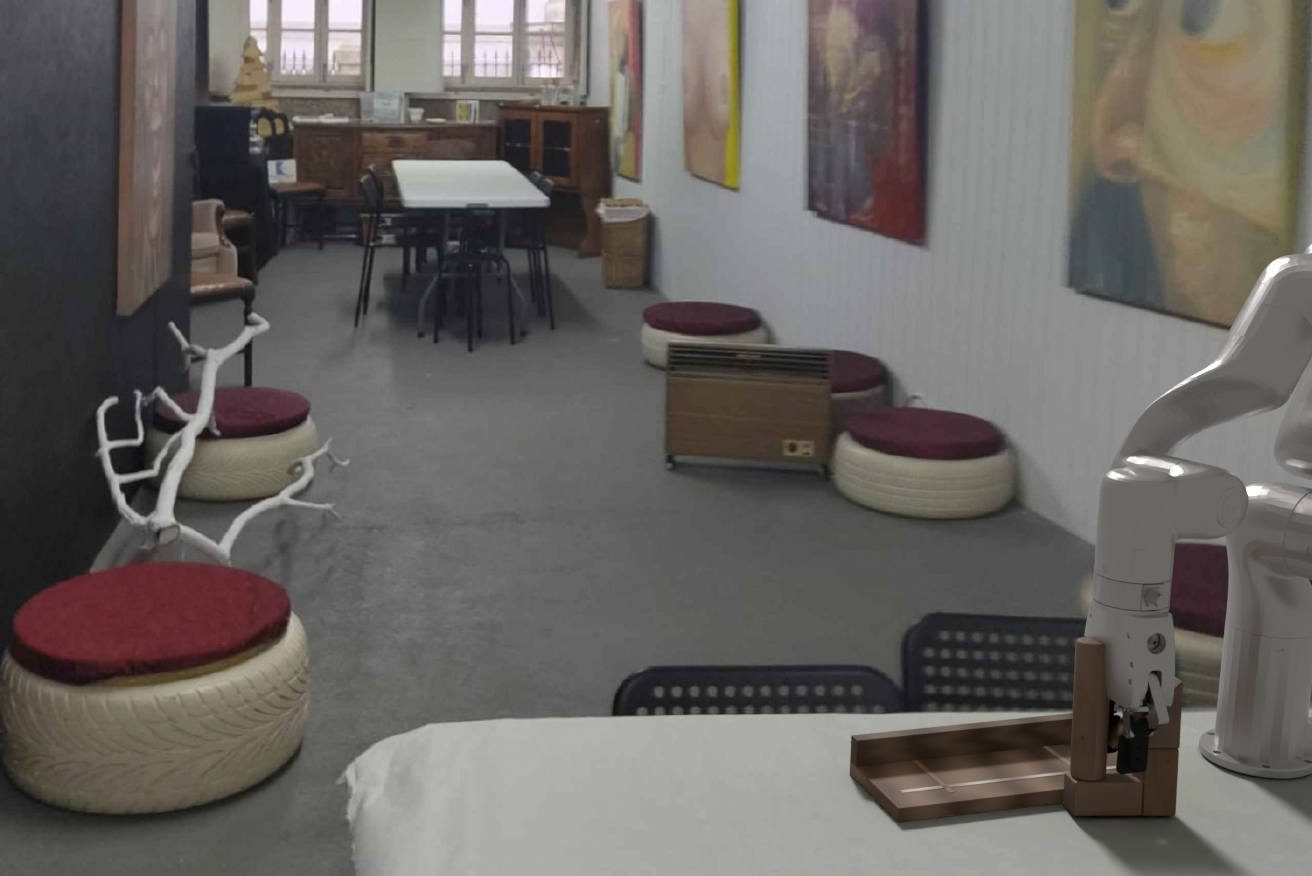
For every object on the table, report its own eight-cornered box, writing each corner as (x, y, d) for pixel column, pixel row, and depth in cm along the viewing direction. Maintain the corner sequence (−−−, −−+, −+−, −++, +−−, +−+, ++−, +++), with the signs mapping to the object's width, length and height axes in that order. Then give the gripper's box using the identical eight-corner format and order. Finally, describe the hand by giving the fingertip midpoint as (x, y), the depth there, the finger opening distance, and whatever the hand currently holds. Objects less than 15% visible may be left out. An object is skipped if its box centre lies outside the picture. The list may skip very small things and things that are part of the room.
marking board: (1091, 748, 170) (1094, 710, 169) (1154, 791, 159) (1157, 751, 158) (849, 774, 161) (851, 735, 161) (897, 822, 150) (899, 780, 149)
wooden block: (1177, 817, 152) (1186, 644, 150) (1073, 817, 151) (1081, 644, 149) (1162, 804, 155) (1171, 635, 153) (1061, 805, 155) (1069, 636, 153)
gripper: (1216, 614, 142) (1199, 792, 146) (1115, 566, 158) (1102, 728, 162) (1148, 619, 140) (1132, 800, 144) (1053, 570, 156) (1041, 735, 160)
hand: (1116, 760), depth 153 cm, fingers closed on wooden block, 4 cm apart
